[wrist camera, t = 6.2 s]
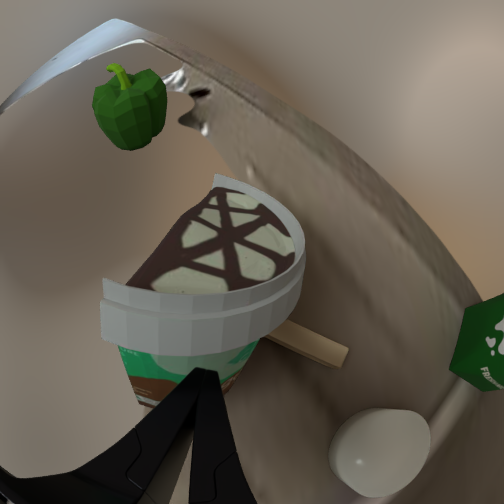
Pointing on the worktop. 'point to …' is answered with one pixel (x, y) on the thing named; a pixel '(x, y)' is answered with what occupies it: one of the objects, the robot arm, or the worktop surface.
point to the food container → (207, 291)
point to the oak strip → (309, 344)
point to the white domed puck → (380, 450)
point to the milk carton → (481, 345)
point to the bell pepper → (131, 107)
